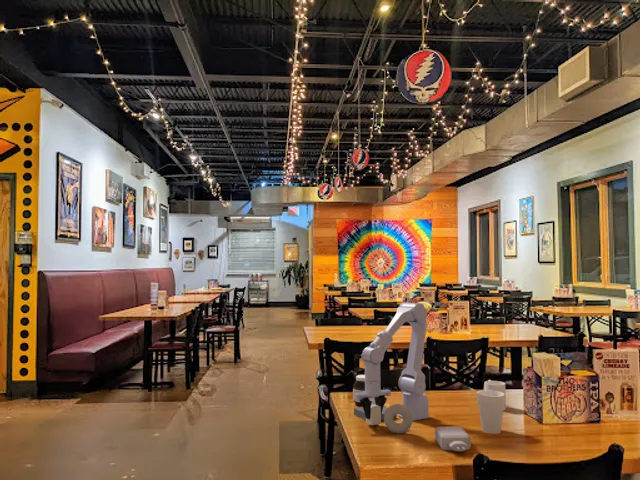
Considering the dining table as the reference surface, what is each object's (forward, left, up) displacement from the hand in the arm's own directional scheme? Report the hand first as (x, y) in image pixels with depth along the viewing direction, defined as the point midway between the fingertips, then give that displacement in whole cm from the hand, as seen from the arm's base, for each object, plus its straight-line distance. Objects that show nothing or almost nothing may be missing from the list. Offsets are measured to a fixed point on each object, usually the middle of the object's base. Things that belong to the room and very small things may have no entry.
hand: (373, 417), depth 183 cm
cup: (-59, 0, -3) cm, 59 cm away
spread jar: (-13, -26, -3) cm, 29 cm away
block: (0, 0, -2) cm, 2 cm away
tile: (-7, -10, -3) cm, 12 cm away
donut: (-3, +11, -3) cm, 12 cm away
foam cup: (-34, +24, -3) cm, 42 cm away
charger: (-11, +32, -3) cm, 34 cm away
